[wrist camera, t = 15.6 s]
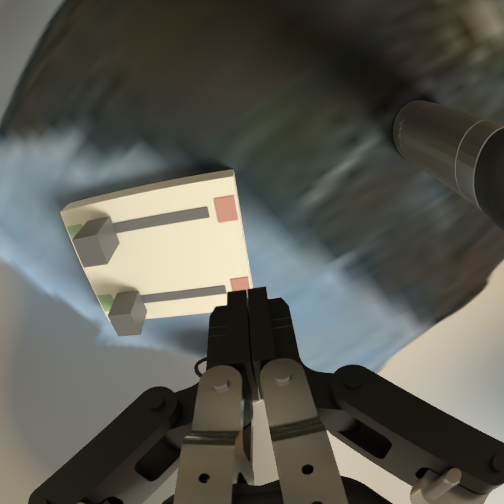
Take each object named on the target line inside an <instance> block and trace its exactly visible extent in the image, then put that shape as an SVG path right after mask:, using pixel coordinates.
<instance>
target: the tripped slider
mask: <svg viewBox="0 0 504 504" xmlns="http://www.w3.org/2000/svg"><path fill="white" fill-rule="evenodd" d="M72 241H73V244H74V246H75V249H76V251H77V253H78V256H79V258H80V260H81V263H82V265H83V267H84V268H85V267H92V266H98V265H105V264H108V263H109V261H110V259H111V257H112V256H113V254H114V252H115V250H116V248H117V247H118V245H119V240H118V237H117V234H116V232H115V229H114V226H113V223H112V220H111V217H110V216H108V217H104V218H99V219H94V220H90V221H87V222H86V223H85V224H84V226H83V227H82V228H81V229H80V230H79V232H78V233H77V234H76V235H75V237H74V238H73V239H72Z"/></svg>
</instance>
